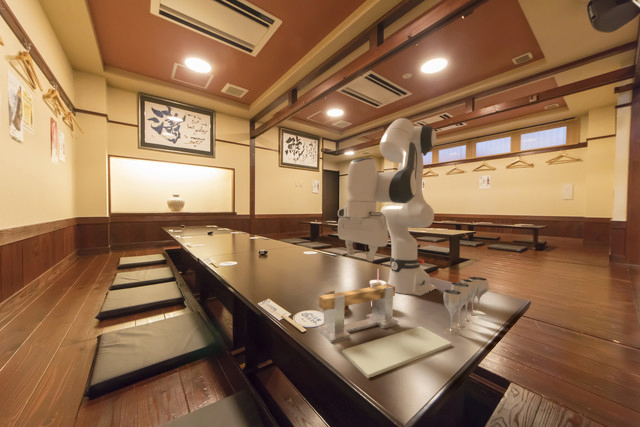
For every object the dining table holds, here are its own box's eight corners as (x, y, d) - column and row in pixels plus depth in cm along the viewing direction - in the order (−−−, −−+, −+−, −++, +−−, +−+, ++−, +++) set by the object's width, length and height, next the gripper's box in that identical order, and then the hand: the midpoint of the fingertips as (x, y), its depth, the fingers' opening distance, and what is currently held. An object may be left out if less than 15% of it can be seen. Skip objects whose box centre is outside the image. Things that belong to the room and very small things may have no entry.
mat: (420, 328, 73) (420, 326, 73) (451, 345, 64) (451, 342, 64) (341, 353, 60) (341, 350, 60) (367, 378, 51) (367, 374, 51)
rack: (380, 314, 82) (381, 280, 82) (397, 324, 75) (398, 287, 75) (317, 329, 71) (318, 290, 71) (331, 343, 64) (332, 300, 64)
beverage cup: (389, 308, 88) (390, 270, 87) (374, 310, 86) (375, 271, 85) (379, 302, 93) (380, 266, 93) (366, 304, 91) (366, 267, 91)
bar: (388, 293, 80) (388, 284, 80) (394, 295, 78) (395, 286, 78) (319, 306, 68) (319, 295, 68) (324, 310, 66) (324, 299, 66)
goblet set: (458, 338, 68) (459, 291, 67) (437, 330, 72) (438, 286, 72) (490, 313, 85) (491, 275, 85) (472, 307, 90) (473, 272, 90)
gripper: (394, 212, 65) (393, 263, 65) (350, 211, 83) (349, 251, 83) (376, 211, 62) (374, 265, 62) (334, 211, 80) (333, 252, 80)
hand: (359, 257), depth 73 cm, fingers open, 8 cm apart
